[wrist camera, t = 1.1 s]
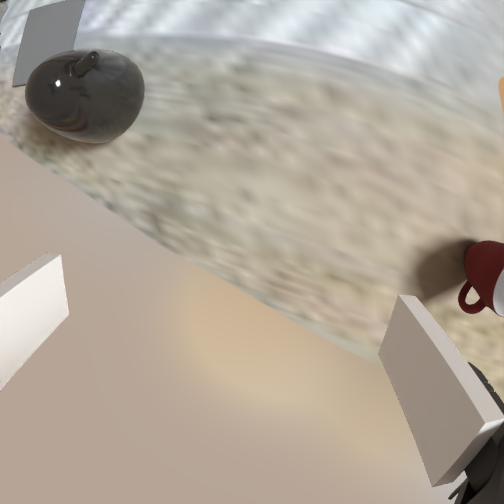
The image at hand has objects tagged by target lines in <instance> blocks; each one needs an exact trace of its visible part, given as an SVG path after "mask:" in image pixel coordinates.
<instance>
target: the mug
mask: <svg viewBox="0 0 504 504" xmlns="http://www.w3.org/2000/svg"><path fill="white" fill-rule="evenodd" d="M464 266H465V271H466V275H467V279H468V281H467V282H466V283H465V284H464V286H463V287H462V289H461V291H460V293H459V296H458V302H459V305H460V307H461V309H462V310H463V311H464V312H466V313H469V314H475V313H478V312H480V311H482V310H483V309H484V308H485V307H486V306H487V307H489V308H490V309H491V310H493V311H494V312H495V313H496V314H497V315H499V316H501V317H504V244H503V243H499V242H495V241H482V242H478V243H475V244H473V245H471V246H470V247H469V248H468V250H467V251H466V253H465V256H464ZM472 286H473V288H474V289H475V290H476V292H477V293H478V295H479V297H480V299H479V300H478V301H477V302H476V303H475V304H471V305H469V304H466V302H465V299H466V295H467V293H468V292H469V290H470V288H471V287H472Z"/></svg>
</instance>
